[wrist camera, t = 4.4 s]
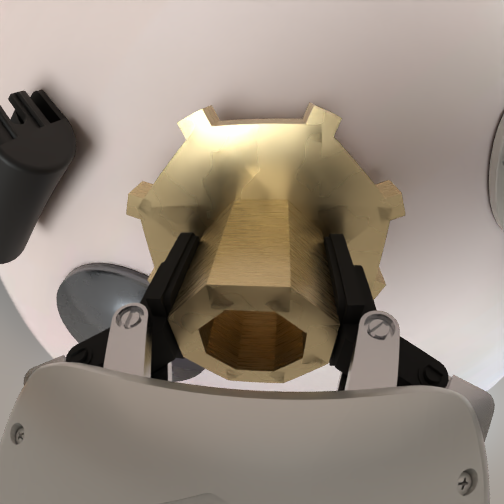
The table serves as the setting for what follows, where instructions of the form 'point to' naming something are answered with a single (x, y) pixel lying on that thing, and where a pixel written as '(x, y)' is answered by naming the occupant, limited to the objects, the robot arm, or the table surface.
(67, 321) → the plate
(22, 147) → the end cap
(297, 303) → the tan faceted octagonal piece
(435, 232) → the table surface
